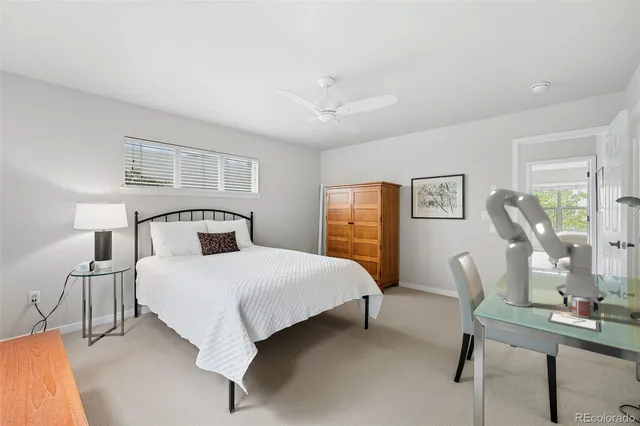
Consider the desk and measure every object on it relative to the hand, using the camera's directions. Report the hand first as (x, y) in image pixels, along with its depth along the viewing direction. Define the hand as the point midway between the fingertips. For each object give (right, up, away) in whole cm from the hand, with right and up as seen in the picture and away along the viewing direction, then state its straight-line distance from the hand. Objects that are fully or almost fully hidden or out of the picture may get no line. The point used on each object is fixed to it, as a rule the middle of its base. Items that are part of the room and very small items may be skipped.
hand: (580, 308), depth 131 cm
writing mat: (-10, -3, -7) cm, 13 cm away
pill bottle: (0, -3, 0) cm, 3 cm away
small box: (+19, -3, +16) cm, 25 cm away
